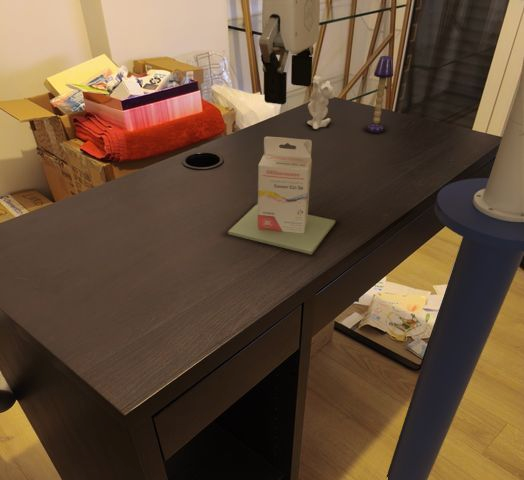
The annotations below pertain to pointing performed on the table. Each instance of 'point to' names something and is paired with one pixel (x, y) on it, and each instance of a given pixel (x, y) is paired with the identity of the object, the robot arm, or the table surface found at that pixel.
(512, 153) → the robot arm
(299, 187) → the ink cartridge box
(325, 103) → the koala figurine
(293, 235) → the mat
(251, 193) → the table surface
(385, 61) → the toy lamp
